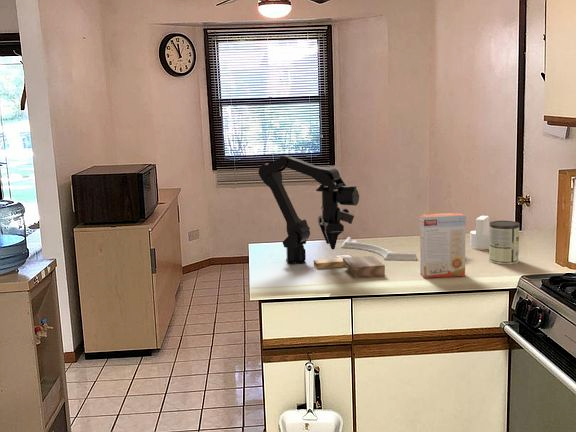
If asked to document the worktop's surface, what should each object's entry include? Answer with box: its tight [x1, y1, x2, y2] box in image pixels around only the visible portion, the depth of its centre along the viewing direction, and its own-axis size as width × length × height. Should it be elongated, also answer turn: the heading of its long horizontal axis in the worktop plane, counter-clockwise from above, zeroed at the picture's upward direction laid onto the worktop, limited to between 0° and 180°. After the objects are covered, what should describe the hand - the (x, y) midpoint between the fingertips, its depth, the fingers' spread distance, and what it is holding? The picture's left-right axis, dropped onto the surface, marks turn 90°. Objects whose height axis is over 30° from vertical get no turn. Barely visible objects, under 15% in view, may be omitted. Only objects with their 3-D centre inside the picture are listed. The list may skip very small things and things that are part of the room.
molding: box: [340, 236, 417, 261], centre depth 244 cm, size 42×12×3 cm, turn 33°
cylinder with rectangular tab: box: [469, 215, 490, 250], centre depth 244 cm, size 9×9×12 cm
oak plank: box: [313, 257, 347, 270], centre depth 223 cm, size 12×5×2 cm, turn 101°
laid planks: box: [342, 255, 386, 279], centre depth 213 cm, size 12×14×4 cm
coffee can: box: [488, 220, 521, 265], centre depth 221 cm, size 10×10×14 cm
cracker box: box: [419, 212, 467, 279], centre depth 205 cm, size 14×6×21 cm, turn 92°
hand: (330, 246), depth 222 cm, fingers open, 9 cm apart
